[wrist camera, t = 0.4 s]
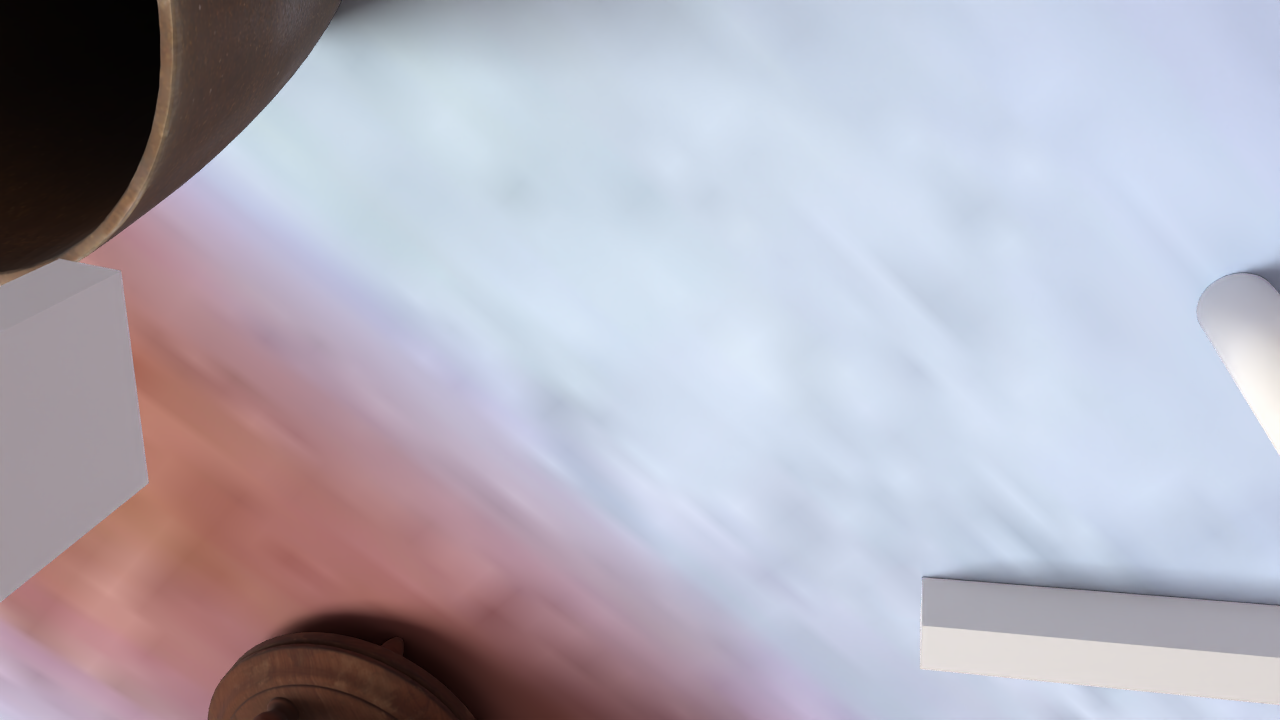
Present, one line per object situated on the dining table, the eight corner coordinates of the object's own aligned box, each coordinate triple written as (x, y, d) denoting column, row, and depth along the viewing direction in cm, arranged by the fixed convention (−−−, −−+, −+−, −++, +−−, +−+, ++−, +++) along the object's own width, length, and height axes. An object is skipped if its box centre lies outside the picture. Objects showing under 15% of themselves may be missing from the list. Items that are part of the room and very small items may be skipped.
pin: (1202, 272, 34) (1286, 394, 26) (1285, 273, 34) (1397, 398, 26) (1191, 340, 35) (1270, 477, 27) (1272, 343, 35) (1376, 483, 27)
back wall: (922, 577, 41) (922, 625, 39) (1661, 636, 36) (1720, 697, 33) (920, 618, 42) (920, 669, 40) (1642, 683, 36) (1699, 747, 34)
